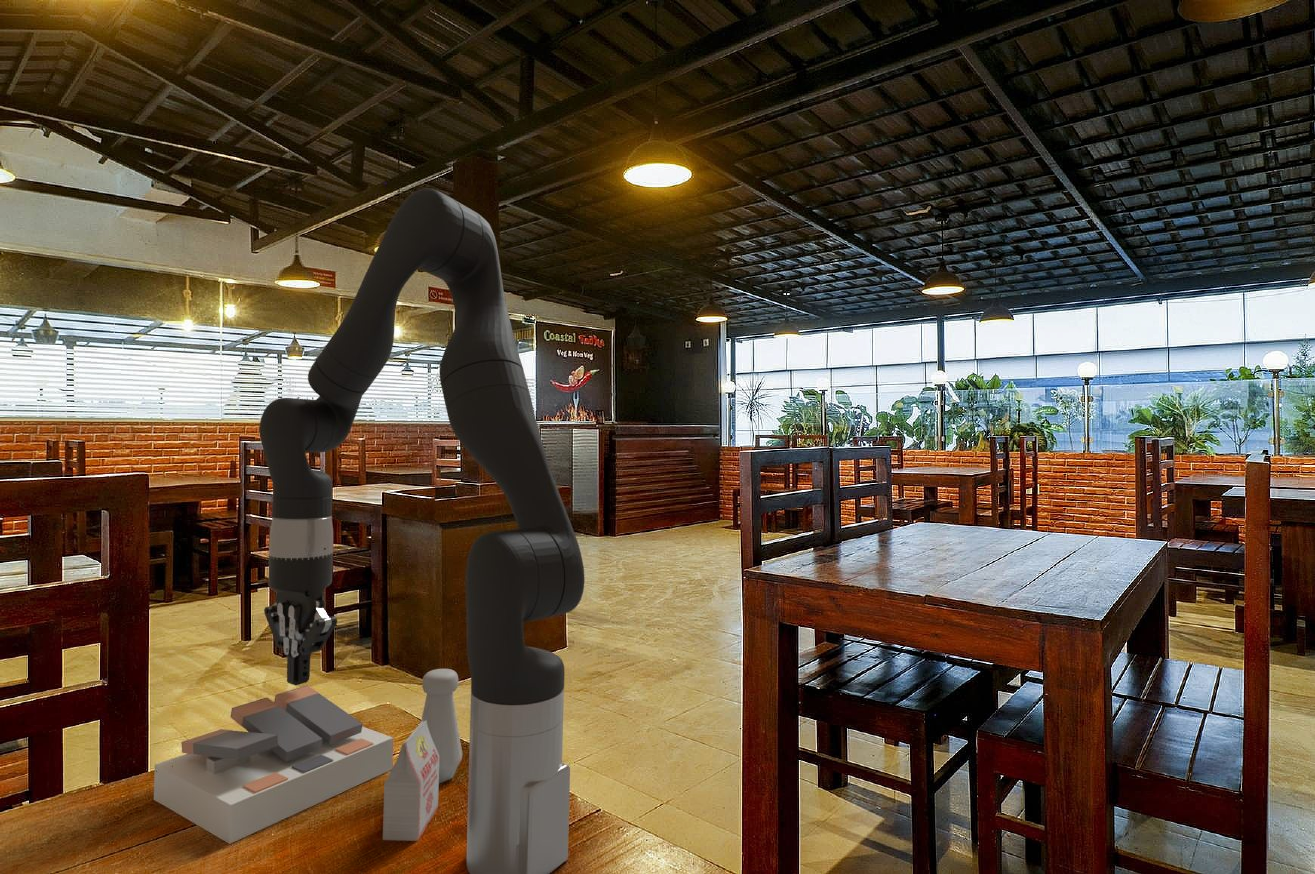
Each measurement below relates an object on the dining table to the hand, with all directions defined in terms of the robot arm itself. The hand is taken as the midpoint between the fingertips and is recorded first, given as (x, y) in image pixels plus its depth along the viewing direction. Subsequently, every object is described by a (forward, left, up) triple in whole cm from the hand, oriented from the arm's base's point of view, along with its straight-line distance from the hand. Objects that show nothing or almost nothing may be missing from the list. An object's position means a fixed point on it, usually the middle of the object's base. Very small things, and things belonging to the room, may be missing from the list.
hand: (297, 682), depth 94 cm
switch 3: (-5, 0, -3) cm, 5 cm away
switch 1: (-5, +11, -3) cm, 12 cm away
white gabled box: (-26, +3, -10) cm, 27 cm away
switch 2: (-5, +6, -3) cm, 8 cm away
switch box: (-6, +6, -10) cm, 12 cm away
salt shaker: (-20, -6, -10) cm, 23 cm away
